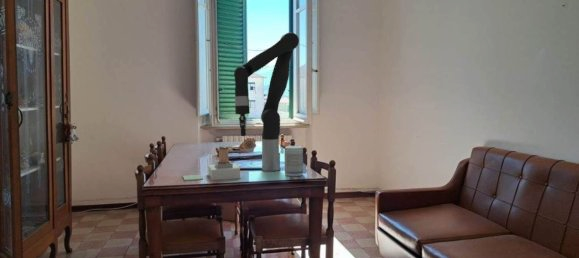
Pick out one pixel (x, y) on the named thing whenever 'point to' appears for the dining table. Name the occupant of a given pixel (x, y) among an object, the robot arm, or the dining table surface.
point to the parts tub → (224, 171)
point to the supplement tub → (293, 161)
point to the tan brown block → (223, 155)
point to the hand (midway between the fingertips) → (243, 135)
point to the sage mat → (192, 177)
